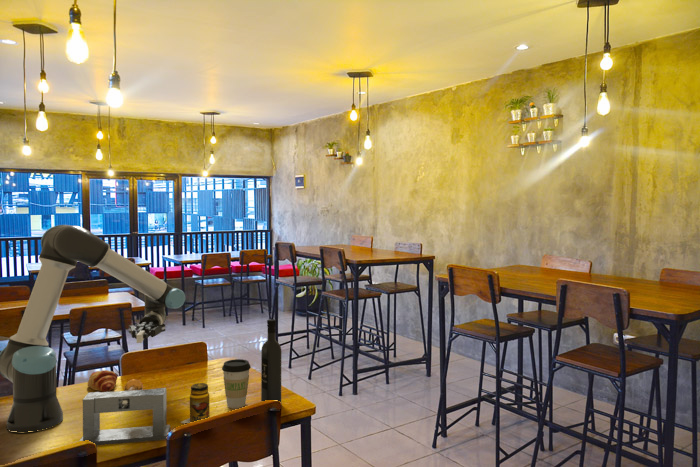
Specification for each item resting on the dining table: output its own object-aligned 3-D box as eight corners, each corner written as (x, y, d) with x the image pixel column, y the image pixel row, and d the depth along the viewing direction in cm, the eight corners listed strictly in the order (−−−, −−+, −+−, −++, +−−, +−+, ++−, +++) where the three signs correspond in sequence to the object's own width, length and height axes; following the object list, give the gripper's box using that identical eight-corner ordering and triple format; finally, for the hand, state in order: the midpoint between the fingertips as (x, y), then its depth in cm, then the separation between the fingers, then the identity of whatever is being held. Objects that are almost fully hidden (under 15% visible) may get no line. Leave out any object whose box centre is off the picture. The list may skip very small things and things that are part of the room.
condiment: (199, 428, 158) (199, 390, 158) (179, 422, 162) (179, 385, 162) (215, 420, 164) (215, 383, 164) (196, 415, 168) (196, 379, 168)
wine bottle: (268, 408, 174) (268, 322, 173) (260, 404, 178) (260, 319, 177) (282, 405, 178) (282, 320, 177) (273, 400, 182) (274, 317, 181)
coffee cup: (215, 407, 175) (215, 364, 175) (234, 398, 184) (234, 357, 184) (238, 412, 171) (238, 368, 170) (256, 403, 180) (256, 361, 179)
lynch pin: (115, 412, 148) (114, 395, 148) (125, 395, 162) (125, 379, 162) (133, 411, 149) (133, 393, 149) (142, 394, 163) (142, 378, 163)
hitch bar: (78, 446, 145) (77, 401, 144) (86, 435, 152) (85, 391, 152) (166, 439, 150) (166, 395, 149) (170, 428, 158) (170, 386, 157)
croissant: (88, 389, 202) (77, 374, 200) (111, 373, 208) (101, 358, 205) (102, 404, 186) (91, 387, 183) (127, 386, 191) (116, 369, 189)
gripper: (132, 314, 192) (117, 328, 168) (168, 313, 194) (159, 327, 171) (132, 334, 192) (118, 351, 169) (168, 332, 195) (159, 349, 172)
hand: (138, 339), depth 170 cm, fingers closed
